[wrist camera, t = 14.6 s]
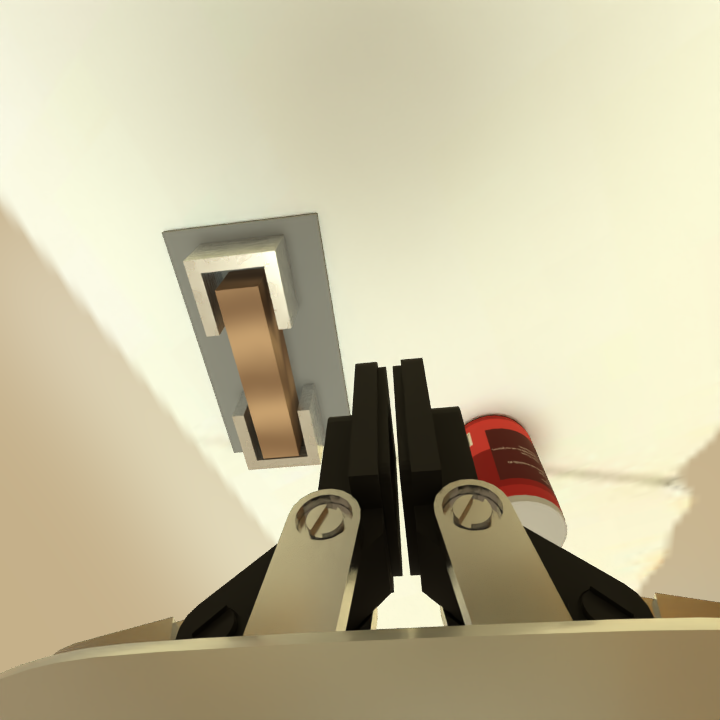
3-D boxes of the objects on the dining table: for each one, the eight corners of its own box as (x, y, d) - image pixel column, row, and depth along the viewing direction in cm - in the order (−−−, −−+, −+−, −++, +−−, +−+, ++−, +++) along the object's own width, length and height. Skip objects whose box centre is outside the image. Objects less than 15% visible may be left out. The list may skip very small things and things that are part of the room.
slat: (229, 271, 39) (214, 290, 35) (268, 267, 38) (257, 286, 35) (271, 430, 47) (263, 458, 43) (304, 427, 46) (299, 455, 43)
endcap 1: (200, 244, 38) (182, 261, 34) (284, 234, 37) (274, 250, 34) (220, 314, 41) (206, 336, 37) (298, 306, 40) (291, 328, 37)
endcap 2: (324, 435, 47) (320, 464, 43) (257, 441, 47) (248, 469, 44) (314, 383, 44) (309, 409, 40) (243, 390, 44) (231, 416, 41)
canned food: (456, 481, 50) (475, 576, 40) (443, 420, 46) (461, 510, 37) (532, 469, 49) (570, 564, 39) (526, 405, 45) (566, 494, 36)
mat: (163, 231, 38) (162, 232, 37) (317, 213, 37) (316, 214, 36) (235, 450, 49) (233, 452, 48) (354, 440, 48) (354, 443, 47)
